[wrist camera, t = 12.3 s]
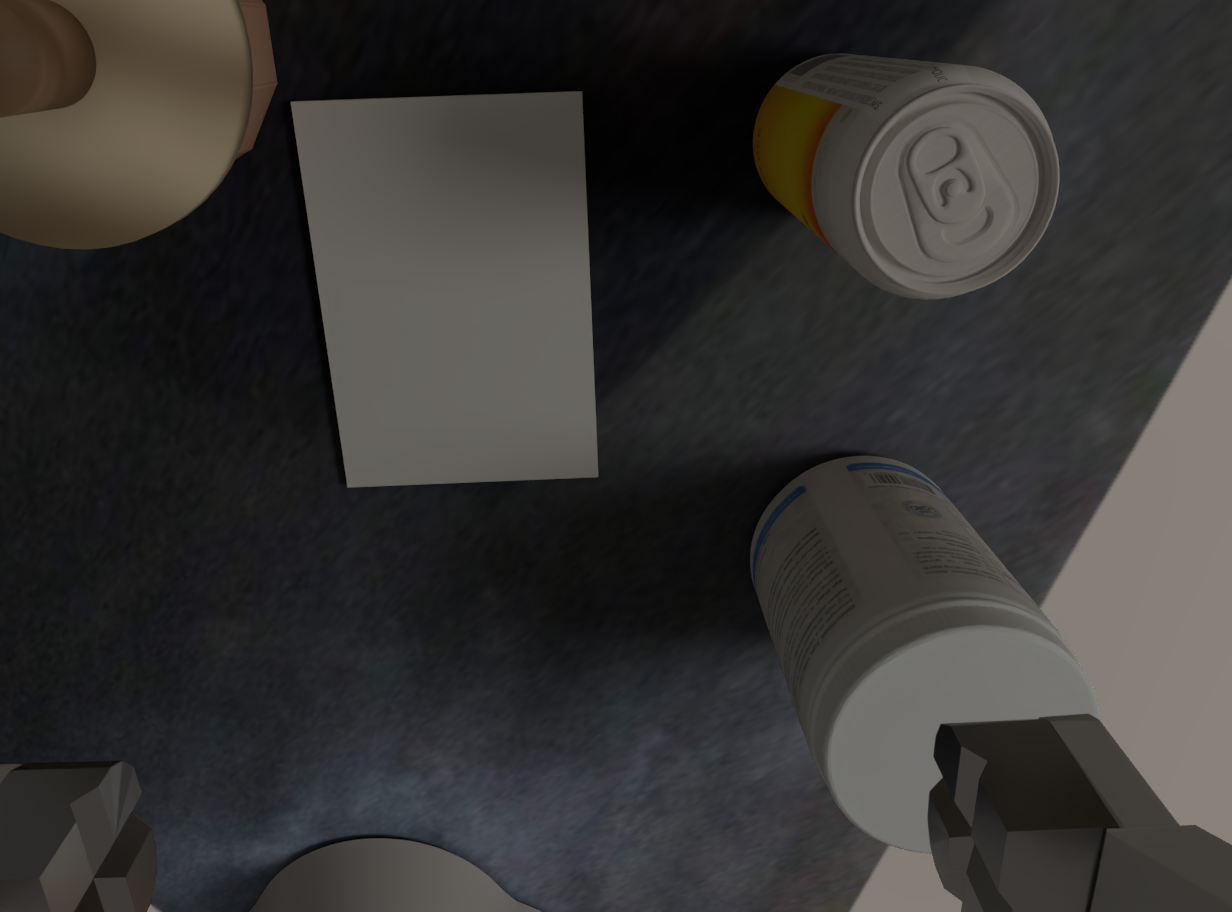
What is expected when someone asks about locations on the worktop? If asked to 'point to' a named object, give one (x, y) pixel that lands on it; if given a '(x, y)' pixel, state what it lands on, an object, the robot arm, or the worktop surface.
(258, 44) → the bowl
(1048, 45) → the worktop surface
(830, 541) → the supplement tub
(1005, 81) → the beer can
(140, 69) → the lid
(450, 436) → the mat
